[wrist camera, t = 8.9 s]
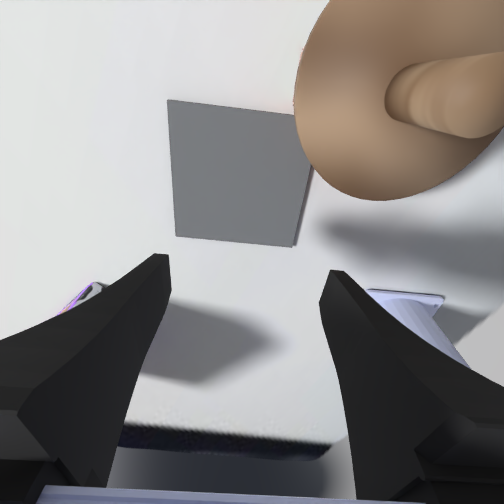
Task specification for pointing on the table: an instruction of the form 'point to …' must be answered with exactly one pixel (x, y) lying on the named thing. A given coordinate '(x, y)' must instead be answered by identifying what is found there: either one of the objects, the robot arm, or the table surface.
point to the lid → (400, 92)
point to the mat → (236, 173)
